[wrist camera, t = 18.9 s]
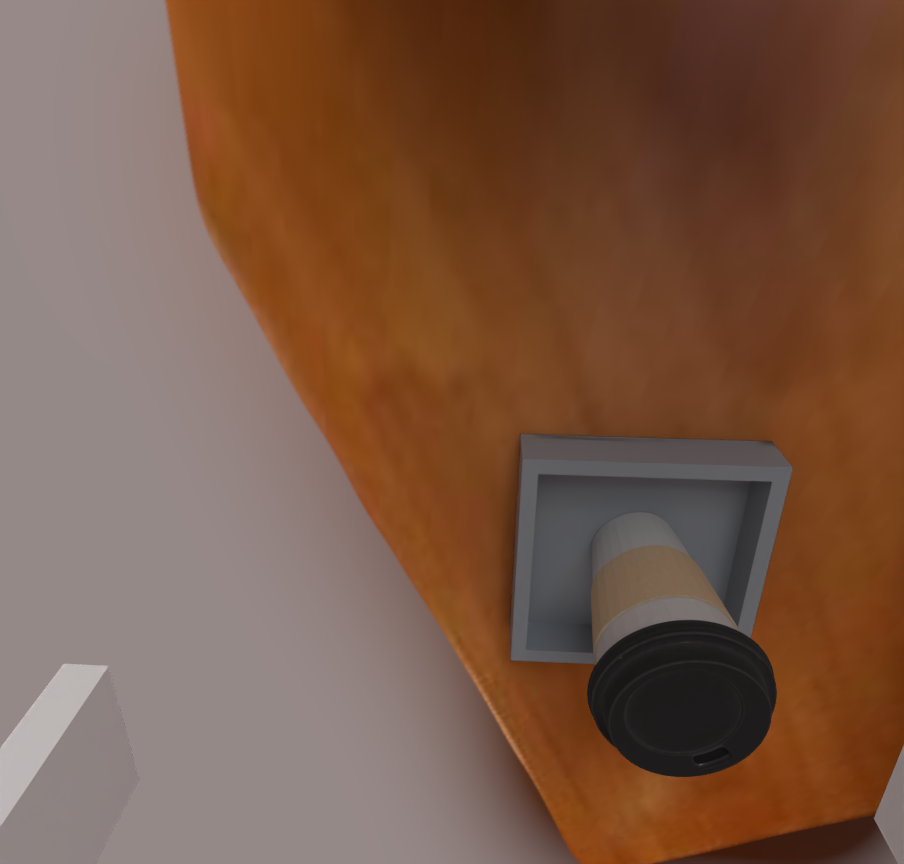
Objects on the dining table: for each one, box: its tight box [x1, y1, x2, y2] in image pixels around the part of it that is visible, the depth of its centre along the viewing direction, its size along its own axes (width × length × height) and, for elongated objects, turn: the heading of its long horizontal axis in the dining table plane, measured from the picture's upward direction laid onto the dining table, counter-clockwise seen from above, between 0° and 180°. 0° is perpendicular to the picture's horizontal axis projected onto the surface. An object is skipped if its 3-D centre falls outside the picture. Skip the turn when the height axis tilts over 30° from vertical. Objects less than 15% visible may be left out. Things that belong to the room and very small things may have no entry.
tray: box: [510, 434, 793, 664], centre depth 47 cm, size 16×16×4 cm
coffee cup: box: [587, 512, 777, 777], centre depth 41 cm, size 9×9×15 cm
